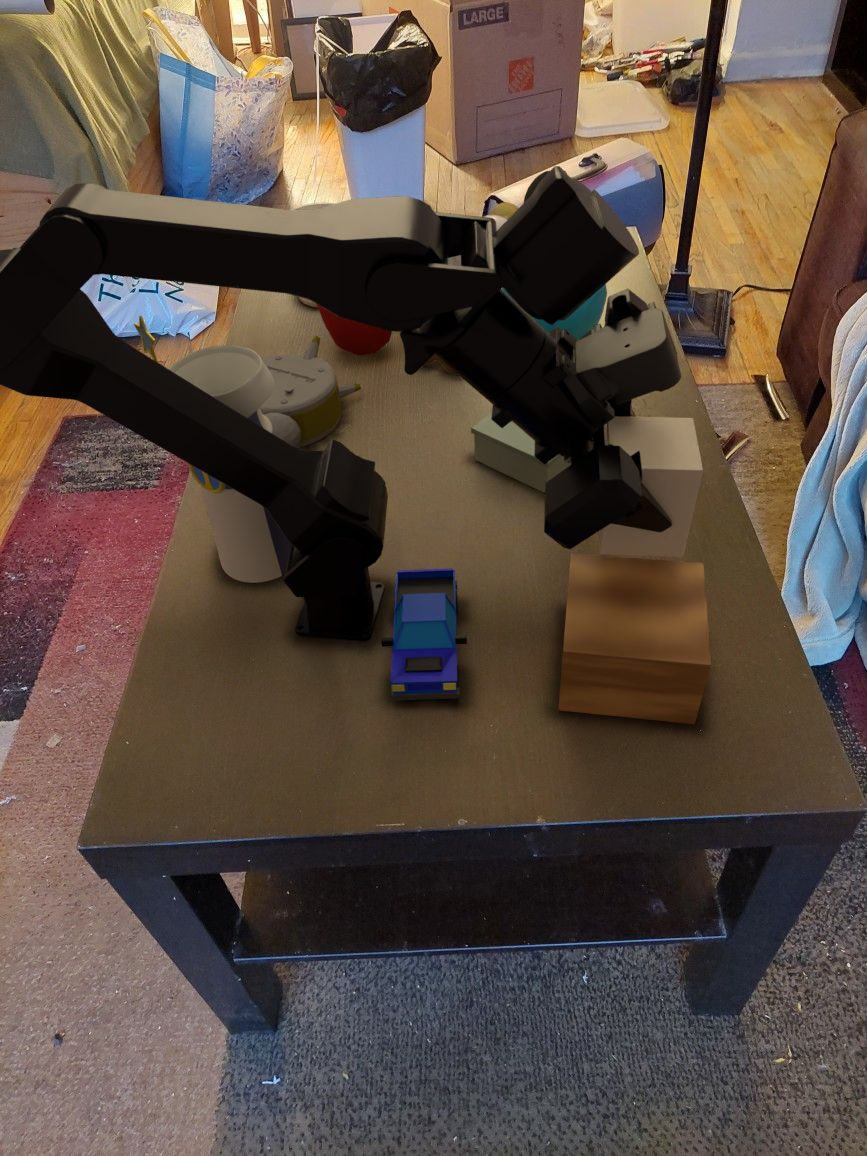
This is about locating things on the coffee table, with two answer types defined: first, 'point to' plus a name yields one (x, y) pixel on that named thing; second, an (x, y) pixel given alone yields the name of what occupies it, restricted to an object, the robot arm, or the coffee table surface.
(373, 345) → the apple
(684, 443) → the white box
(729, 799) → the coffee table surface
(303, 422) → the alarm clock
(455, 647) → the toy car
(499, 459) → the storage box
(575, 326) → the teal helmet
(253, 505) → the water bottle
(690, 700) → the brown wooden block
